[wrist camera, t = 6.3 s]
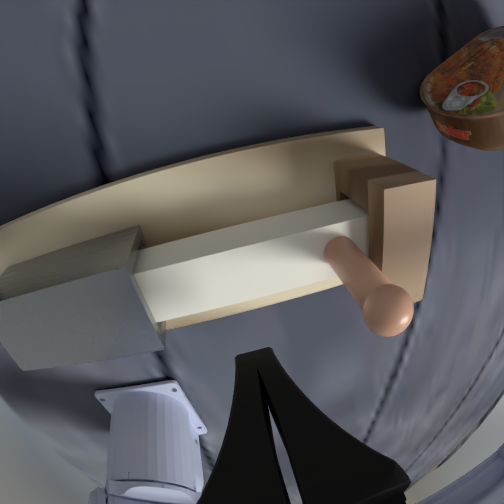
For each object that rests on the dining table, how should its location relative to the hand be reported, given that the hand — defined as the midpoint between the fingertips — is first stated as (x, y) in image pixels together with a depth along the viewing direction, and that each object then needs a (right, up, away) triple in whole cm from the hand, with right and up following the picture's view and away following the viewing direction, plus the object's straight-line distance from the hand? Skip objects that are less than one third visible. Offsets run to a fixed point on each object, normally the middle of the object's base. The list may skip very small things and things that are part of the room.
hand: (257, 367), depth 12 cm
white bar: (-1, +4, +5) cm, 7 cm away
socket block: (+6, +7, +7) cm, 12 cm away
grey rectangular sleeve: (-11, +3, +6) cm, 13 cm away
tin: (+15, +18, +4) cm, 24 cm away
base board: (-5, +5, +7) cm, 9 cm away
